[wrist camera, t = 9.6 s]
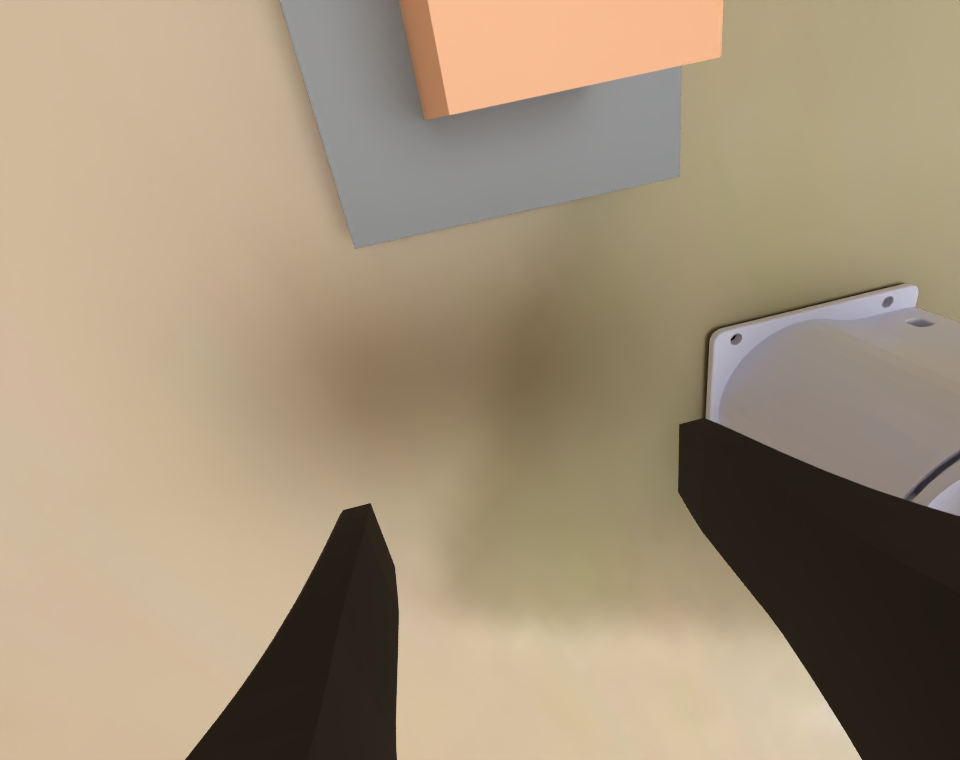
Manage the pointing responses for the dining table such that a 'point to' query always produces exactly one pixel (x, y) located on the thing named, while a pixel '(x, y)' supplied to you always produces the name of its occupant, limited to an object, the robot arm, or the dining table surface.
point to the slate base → (465, 131)
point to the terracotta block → (547, 45)
